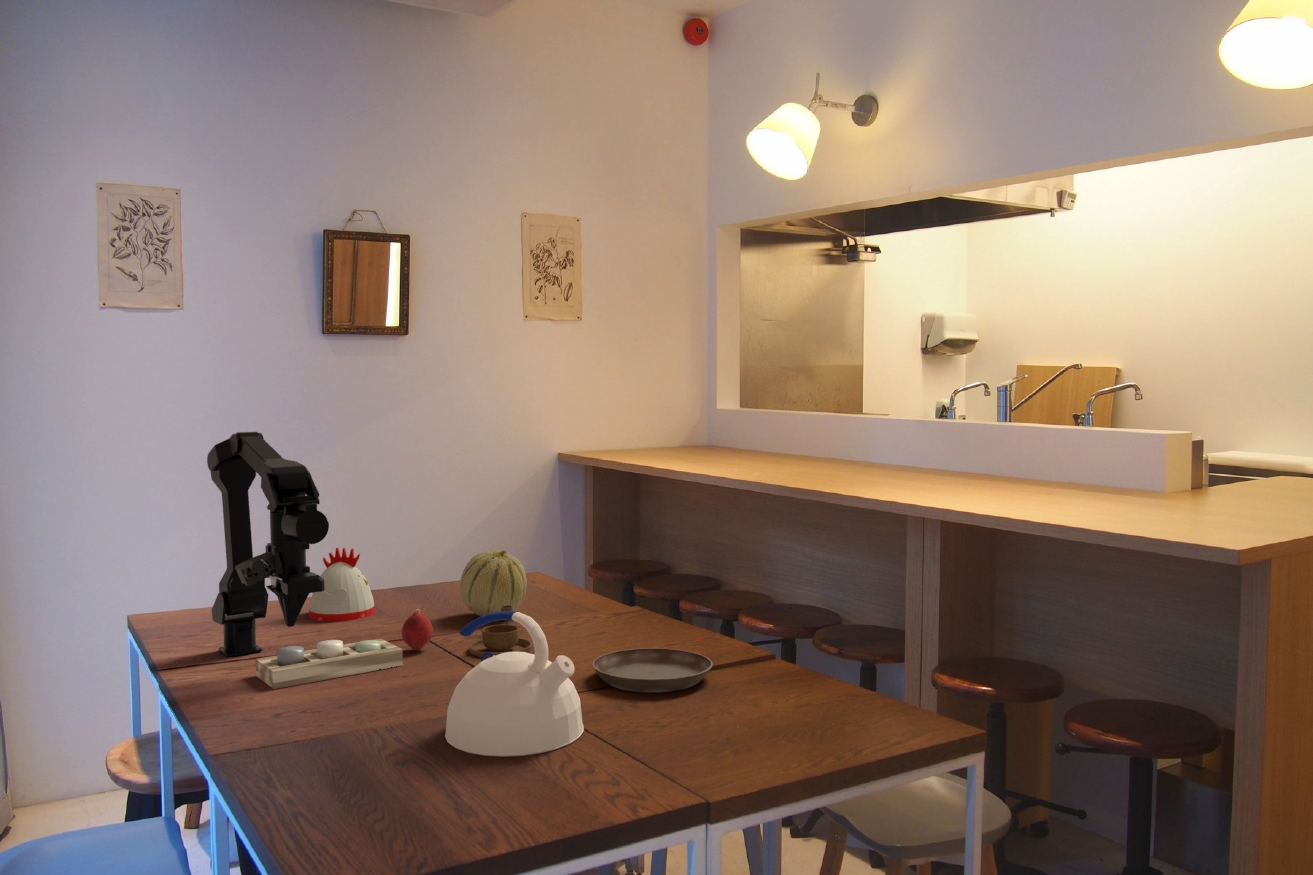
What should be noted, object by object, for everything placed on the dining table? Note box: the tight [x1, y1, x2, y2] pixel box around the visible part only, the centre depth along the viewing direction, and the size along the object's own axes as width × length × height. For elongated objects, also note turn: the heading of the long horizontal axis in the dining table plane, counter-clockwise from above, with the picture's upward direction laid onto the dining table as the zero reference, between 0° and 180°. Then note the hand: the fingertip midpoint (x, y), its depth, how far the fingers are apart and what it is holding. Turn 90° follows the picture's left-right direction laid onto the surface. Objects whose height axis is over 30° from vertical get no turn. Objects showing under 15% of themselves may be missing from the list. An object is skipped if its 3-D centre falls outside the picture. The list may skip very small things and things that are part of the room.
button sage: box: [355, 639, 381, 653], centre depth 188 cm, size 4×4×2 cm
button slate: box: [276, 645, 305, 666], centre depth 179 cm, size 4×4×2 cm
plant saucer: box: [592, 647, 713, 694], centre depth 177 cm, size 21×21×3 cm
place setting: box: [468, 605, 535, 659], centre depth 201 cm, size 18×20×6 cm
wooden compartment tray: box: [255, 638, 404, 690], centre depth 184 cm, size 10×23×3 cm, turn 127°
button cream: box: [316, 639, 344, 659], centre depth 184 cm, size 4×4×2 cm
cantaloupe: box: [459, 549, 528, 617], centre depth 225 cm, size 15×15×15 cm
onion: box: [401, 608, 434, 652], centre depth 197 cm, size 6×6×8 cm
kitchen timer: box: [308, 547, 375, 622], centre depth 229 cm, size 14×14×15 cm
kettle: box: [444, 610, 585, 758], centre depth 151 cm, size 20×21×18 cm
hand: (290, 626), depth 179 cm, fingers closed
